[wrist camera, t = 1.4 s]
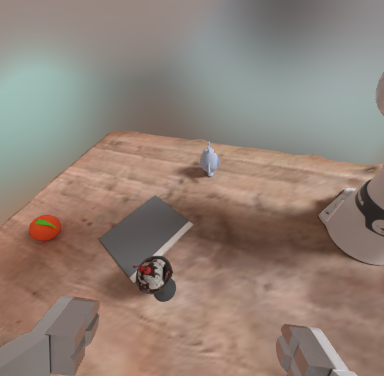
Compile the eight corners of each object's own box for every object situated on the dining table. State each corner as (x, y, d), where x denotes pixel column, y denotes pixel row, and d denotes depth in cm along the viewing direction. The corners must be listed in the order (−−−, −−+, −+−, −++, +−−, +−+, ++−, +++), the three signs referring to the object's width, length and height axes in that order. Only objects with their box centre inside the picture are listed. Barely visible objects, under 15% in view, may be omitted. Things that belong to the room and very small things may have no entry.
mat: (155, 196, 61) (154, 195, 60) (193, 225, 52) (193, 224, 52) (99, 239, 52) (98, 238, 51) (133, 283, 43) (133, 282, 43)
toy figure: (219, 184, 62) (219, 154, 53) (200, 184, 62) (197, 155, 54) (218, 163, 69) (218, 133, 60) (201, 163, 70) (199, 134, 61)
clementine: (73, 225, 56) (59, 211, 51) (58, 247, 51) (40, 234, 46) (51, 222, 57) (35, 208, 52) (34, 243, 53) (15, 230, 48)
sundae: (143, 290, 42) (117, 265, 31) (166, 267, 45) (149, 236, 34) (162, 314, 38) (141, 295, 27) (185, 287, 41) (174, 260, 31)
